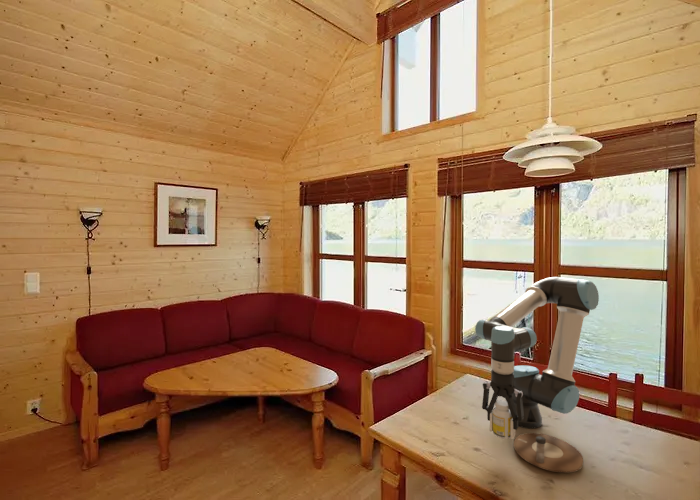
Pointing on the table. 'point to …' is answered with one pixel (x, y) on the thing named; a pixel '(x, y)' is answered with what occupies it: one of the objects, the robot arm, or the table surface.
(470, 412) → the table surface
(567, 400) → the robot arm
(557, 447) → the disc
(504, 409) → the pill bottle
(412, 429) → the table surface
